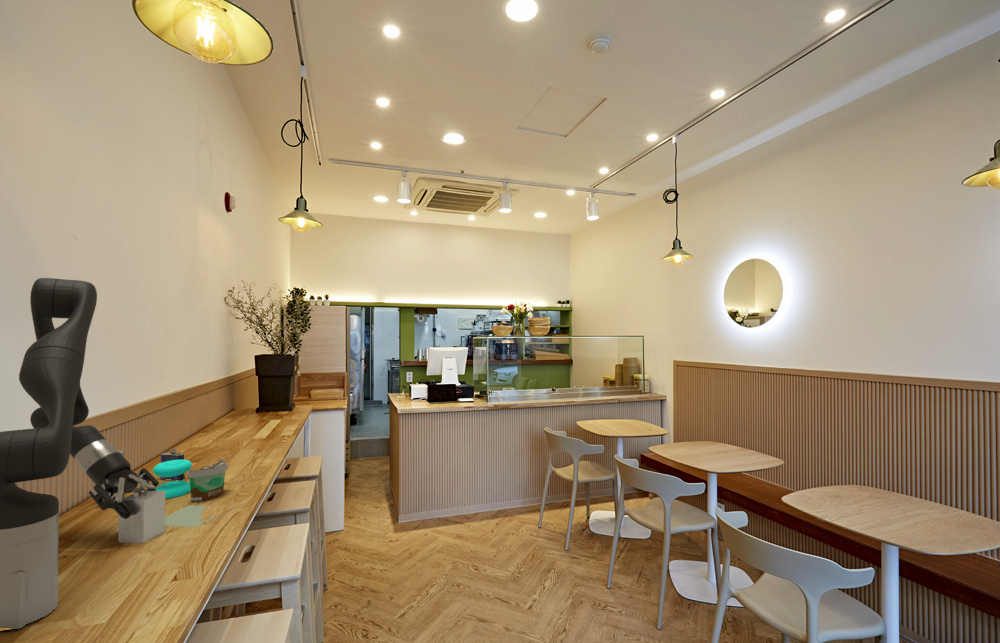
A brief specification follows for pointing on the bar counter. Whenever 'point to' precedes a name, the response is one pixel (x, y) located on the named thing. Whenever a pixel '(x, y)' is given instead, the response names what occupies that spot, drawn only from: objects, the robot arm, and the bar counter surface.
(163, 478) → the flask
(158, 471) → the donuts
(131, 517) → the steel cover
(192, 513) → the rubber mat
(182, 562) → the bar counter surface
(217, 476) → the food container
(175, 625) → the bar counter surface
